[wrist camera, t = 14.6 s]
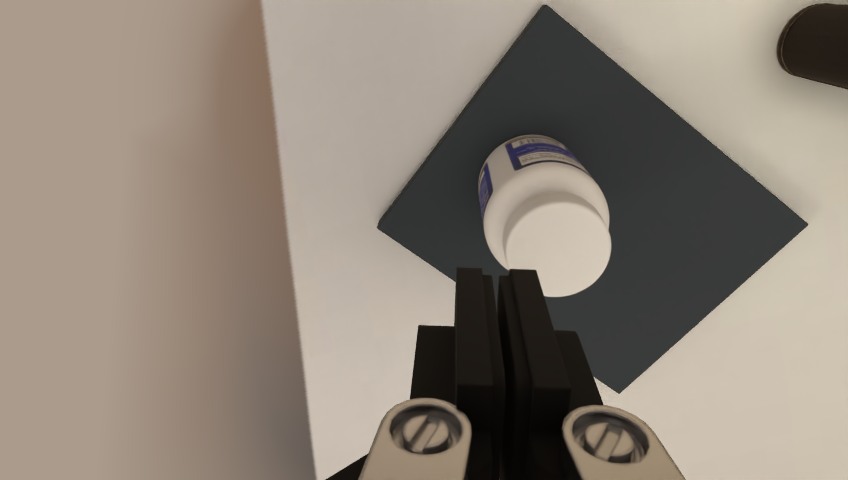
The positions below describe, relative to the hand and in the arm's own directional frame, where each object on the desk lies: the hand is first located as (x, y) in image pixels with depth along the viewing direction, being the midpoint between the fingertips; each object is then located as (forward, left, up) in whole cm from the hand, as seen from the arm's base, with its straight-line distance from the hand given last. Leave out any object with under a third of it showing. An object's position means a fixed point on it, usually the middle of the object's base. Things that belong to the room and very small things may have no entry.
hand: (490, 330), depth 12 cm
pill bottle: (+4, 0, -18) cm, 19 cm away
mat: (+8, 0, -19) cm, 21 cm away
